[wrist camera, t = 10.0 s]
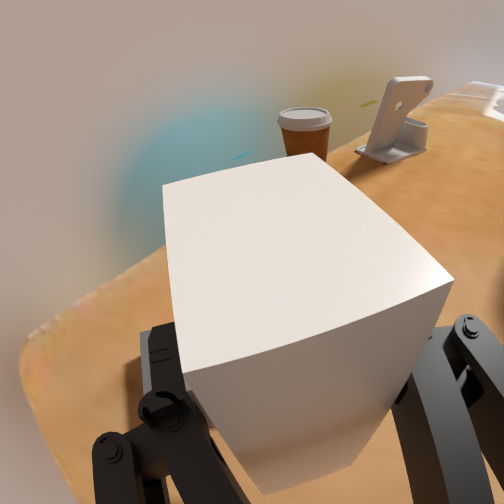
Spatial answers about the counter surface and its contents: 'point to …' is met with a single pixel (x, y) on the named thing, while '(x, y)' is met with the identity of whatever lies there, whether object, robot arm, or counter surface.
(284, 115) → the disposable coffee cup
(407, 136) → the phone holder
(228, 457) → the counter surface
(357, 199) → the block
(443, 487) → the robot arm
